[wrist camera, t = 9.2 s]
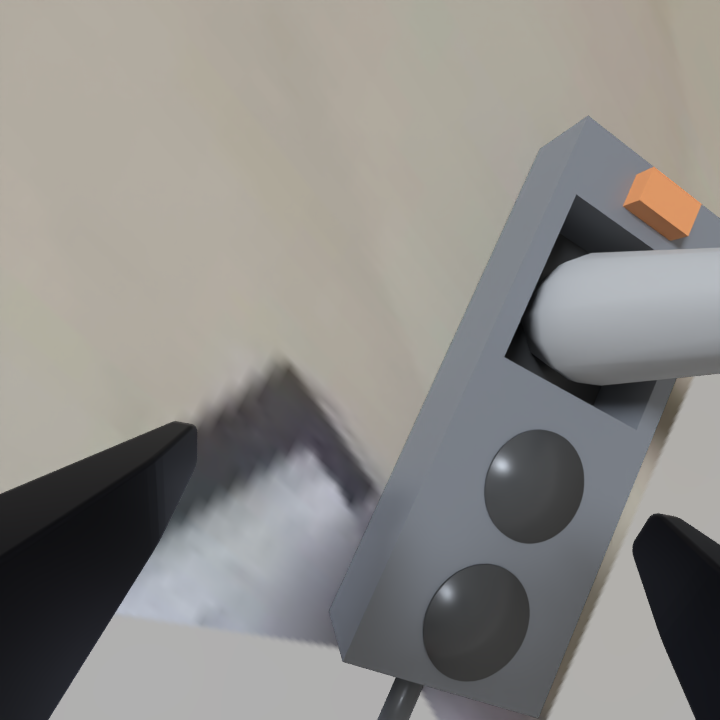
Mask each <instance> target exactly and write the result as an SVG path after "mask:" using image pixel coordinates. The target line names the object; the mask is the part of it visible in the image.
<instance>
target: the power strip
mask: <svg viewBox="0 0 720 720" xmlns="http://www.w3.org/2000/svg"><path fill="white" fill-rule="evenodd" d="M698 248H720V218H719V217H717V216H716V215H715V214H713V213H712V212H711V211H710V210H708V209H707V208H706V207H705V206H703V205H702V204H701V203H700V202H698V201H697V200H696V199H694V198H693V197H692V196H691V195H689V194H688V193H687V192H685V191H684V190H683V189H682V188H680V187H679V186H678V185H677V184H675V183H674V182H673V181H671V180H670V179H669V178H668V177H666V176H665V175H664V174H662V173H661V172H660V171H659V170H657V169H656V168H655V167H653V166H652V165H651V164H649V163H648V162H647V161H646V160H644V159H643V158H642V157H641V156H639V155H638V154H637V153H635V152H634V151H633V150H632V149H630V148H629V147H628V146H626V145H625V144H624V143H623V142H621V141H620V140H619V139H617V138H616V137H615V136H614V135H612V134H611V133H610V132H609V131H607V130H606V129H605V128H603V127H602V126H601V125H600V124H598V123H597V122H596V121H594V120H593V119H592V118H591V117H589V116H587V117H585V118H584V119H582V120H581V121H580V122H578V123H577V124H575V125H574V126H572V127H571V128H569V129H568V130H567V131H565V132H564V133H562V134H561V135H559V136H558V137H556V138H555V139H554V140H552V141H551V142H549V143H548V144H546V145H545V146H543V147H542V148H540V150H539V152H538V154H537V156H536V159H535V161H534V163H533V165H532V167H531V170H530V172H529V174H528V176H527V178H526V181H525V183H524V185H523V187H522V189H521V191H520V194H519V196H518V198H517V200H516V202H515V205H514V207H513V209H512V211H511V213H510V216H509V218H508V220H507V222H506V224H505V227H504V229H503V231H502V233H501V235H500V237H499V240H498V242H497V244H496V246H495V248H494V251H493V253H492V255H491V257H490V259H489V262H488V264H487V266H486V268H485V270H484V273H483V275H482V277H481V279H480V281H479V283H478V286H477V288H476V290H475V292H474V294H473V297H472V299H471V301H470V303H469V305H468V308H467V310H466V312H465V314H464V316H463V319H462V321H461V323H460V325H459V327H458V329H457V332H456V334H455V336H454V338H453V340H452V343H451V345H450V347H449V349H448V351H447V354H446V356H445V358H444V360H443V362H442V365H441V367H440V369H439V371H438V373H437V375H436V378H435V380H434V382H433V384H432V386H431V389H430V391H429V393H428V395H427V397H426V400H425V402H424V404H423V406H422V408H421V411H420V413H419V415H418V417H417V419H416V421H415V424H414V426H413V428H412V430H411V432H410V435H409V437H408V439H407V441H406V443H405V446H404V448H403V450H402V452H401V454H400V457H399V459H398V461H397V463H396V465H395V467H394V470H393V472H392V474H391V476H390V478H389V481H388V483H387V485H386V487H385V489H384V492H383V494H382V496H381V498H380V500H379V503H378V505H377V507H376V509H375V511H374V513H373V516H372V518H371V520H370V522H369V524H368V527H367V529H366V531H365V533H364V535H363V538H362V540H361V542H360V544H359V546H358V549H357V551H356V553H355V555H354V557H353V559H352V562H351V564H350V566H349V568H348V570H347V573H346V575H345V577H344V579H343V581H342V584H341V586H340V588H339V590H338V592H337V595H336V597H335V599H334V601H333V603H332V605H331V608H330V610H329V613H330V617H331V621H332V624H333V628H334V632H335V635H336V639H337V643H338V646H339V650H340V654H341V657H342V661H343V662H345V663H349V664H352V665H356V666H359V667H363V668H366V669H369V670H373V671H376V672H380V673H383V674H387V675H390V676H393V677H396V678H395V681H394V683H393V685H392V688H391V690H390V692H389V694H388V697H387V699H386V702H385V704H384V706H383V708H382V710H381V713H380V715H379V717H378V720H409V718H410V715H411V713H412V711H413V708H414V706H415V704H416V702H417V699H418V697H419V695H420V692H421V690H422V688H423V685H424V686H428V687H431V688H435V689H438V690H442V691H445V692H449V693H452V694H455V695H459V696H462V697H466V698H469V699H473V700H476V701H480V702H483V703H486V704H490V705H493V706H497V707H500V708H504V709H507V710H511V711H514V712H517V713H521V714H524V715H528V716H531V717H535V718H539V715H540V713H541V711H542V708H543V706H544V703H545V701H546V698H547V696H548V693H549V691H550V688H551V686H552V683H553V681H554V679H555V676H556V674H557V671H558V669H559V666H560V664H561V661H562V659H563V656H564V654H565V651H566V649H567V647H568V644H569V642H570V639H571V637H572V634H573V632H574V629H575V627H576V624H577V622H578V620H579V617H580V615H581V612H582V610H583V607H584V605H585V602H586V600H587V597H588V595H589V592H590V590H591V588H592V585H593V583H594V580H595V578H596V575H597V573H598V570H599V568H600V565H601V563H602V560H603V558H604V556H605V553H606V551H607V548H608V546H609V543H610V541H611V538H612V536H613V533H614V531H615V529H616V526H617V524H618V521H619V519H620V516H621V514H622V511H623V509H624V506H625V504H626V501H627V499H628V497H629V494H630V492H631V489H632V487H633V484H634V482H635V479H636V477H637V474H638V472H639V470H640V467H641V465H642V462H643V460H644V457H645V455H646V452H647V450H648V447H649V445H650V442H651V440H652V438H653V435H654V433H655V430H656V428H657V425H658V423H659V420H660V418H661V415H662V413H663V410H664V408H665V406H666V403H667V401H668V398H669V396H670V393H671V391H672V388H673V386H674V383H675V381H676V379H677V378H671V379H661V380H651V381H641V382H632V383H622V384H612V385H602V386H601V385H593V384H585V383H577V382H574V381H571V380H568V379H567V378H565V377H564V376H562V375H561V374H559V373H558V372H557V371H555V370H554V369H552V368H551V367H549V366H548V365H547V364H545V363H544V362H543V361H541V360H540V359H539V358H538V357H536V356H535V355H534V354H532V353H531V352H530V349H529V346H528V343H527V339H526V336H525V332H524V329H523V325H522V322H521V318H522V316H523V313H524V311H525V309H526V307H527V304H528V302H529V300H530V298H531V296H532V295H533V293H534V291H535V289H536V288H537V286H538V285H539V284H540V283H541V282H542V281H543V280H544V279H545V278H546V277H547V276H548V275H549V274H550V273H551V272H553V271H554V270H555V269H556V268H557V267H558V266H559V265H561V264H563V263H565V262H567V261H570V260H573V259H576V258H578V257H581V256H584V255H587V254H590V253H603V252H627V251H651V250H675V249H698Z"/></svg>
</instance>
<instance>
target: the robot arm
mask: <svg viewBox="0 0 720 720" xmlns="http://www.w3.org/2000/svg"><path fill="white" fill-rule="evenodd" d="M196 463H197V429H196V427H195V426H194V425H193V424H189V423H183V422H178V421H174V422H171V423H168V424H166V425H164V426H161V427H159V428H156V429H154V430H152V431H149V432H147V433H145V434H142V435H140V436H137V437H135V438H133V439H130V440H128V441H125V442H123V443H121V444H118V445H116V446H114V447H111V448H109V449H106V450H104V451H102V452H99V453H97V454H94V455H92V456H90V457H87V458H85V459H83V460H80V461H78V462H75V463H73V464H71V465H68V466H66V467H64V468H61V469H59V470H56V471H54V472H52V473H49V474H47V475H44V476H42V477H40V478H37V479H35V480H32V481H30V482H28V483H25V484H23V485H21V486H18V487H16V488H13V489H11V490H9V491H6V492H4V493H1V494H0V720H48V719H49V718H50V716H51V715H52V713H53V711H54V710H55V708H56V707H57V705H58V703H59V702H60V700H61V698H62V697H63V695H64V694H65V692H66V691H67V689H68V687H69V686H70V684H71V683H72V681H73V679H74V678H75V676H76V675H77V673H78V671H79V670H80V668H81V666H82V665H83V663H84V662H85V660H86V659H87V657H88V655H89V654H90V652H91V650H92V649H93V647H94V646H95V644H96V643H97V641H98V639H99V638H100V636H101V635H102V633H103V631H104V630H105V628H106V626H107V625H108V623H109V622H110V620H111V619H112V617H113V615H114V614H115V612H116V611H117V609H118V607H119V606H120V604H121V603H122V601H123V599H124V598H125V596H126V595H127V593H128V591H129V590H130V588H131V587H132V585H133V583H134V582H135V580H136V579H137V577H138V575H139V574H140V572H141V571H142V569H143V567H144V566H145V564H146V563H147V561H148V559H149V558H150V556H151V555H152V553H153V551H154V550H155V548H156V546H157V545H158V543H159V541H160V539H161V537H162V535H163V533H164V531H165V529H166V527H167V525H168V523H169V521H170V519H171V517H172V515H173V513H174V511H175V509H176V507H177V505H178V503H179V501H180V499H181V497H182V495H183V492H184V490H185V488H186V486H187V484H188V482H189V480H190V478H191V476H192V474H193V472H194V470H195V467H196ZM633 556H634V560H635V563H636V565H637V569H638V571H639V575H640V578H641V580H642V584H643V587H644V589H645V592H646V596H647V599H648V602H649V604H650V608H651V611H652V614H653V617H654V619H655V622H656V626H657V628H658V631H659V634H660V637H661V639H662V642H663V644H664V647H665V649H666V652H667V654H668V656H669V659H670V661H671V663H672V666H673V668H674V670H675V673H676V675H677V677H678V679H679V682H680V684H681V686H682V689H683V691H684V693H685V696H686V698H687V700H688V702H689V705H690V707H691V710H692V712H693V714H694V716H695V719H696V720H720V545H719V544H717V543H716V542H715V541H713V540H712V539H710V538H709V537H707V536H706V535H704V534H703V533H701V532H700V531H698V530H697V529H695V528H694V527H692V526H691V525H689V524H688V523H686V522H685V521H683V520H682V519H680V518H678V517H674V516H670V515H664V514H653V515H652V516H650V517H649V519H648V520H647V522H646V523H645V525H644V526H643V528H642V530H641V531H640V533H639V534H638V536H637V537H636V539H635V541H634V543H633Z"/></svg>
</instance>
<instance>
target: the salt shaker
mask: <svg viewBox="0 0 720 720" xmlns="http://www.w3.org/2000/svg"><path fill="white" fill-rule="evenodd" d="M521 322H522V325H523V329H524V332H525V336H526V339H527V343H528V346H529V349H530V352H531V353H532V354H534V355H535V356H536V357H538V358H539V359H540V360H541V361H543V362H544V363H545V364H547V365H548V366H549V367H551V368H552V369H554V370H555V371H557V372H558V373H559V374H561V375H562V376H564V377H565V378H567V379H568V380H571V381H574V382H577V383H585V384H593V385H601V386H602V385H612V384H622V383H632V382H641V381H651V380H661V379H671V378H681V377H691V376H701V375H711V374H720V248H698V249H675V250H651V251H627V252H603V253H590V254H587V255H584V256H581V257H578V258H576V259H573V260H570V261H567V262H565V263H563V264H561V265H559V266H558V267H557V268H556V269H555V270H554V271H553V272H551V273H550V274H549V275H548V276H547V277H546V278H545V279H544V280H543V281H542V282H541V283H540V284H539V285H538V286H537V288H536V289H535V291H534V293H533V295H532V296H531V298H530V300H529V302H528V304H527V307H526V309H525V311H524V313H523V316H522V318H521Z"/></svg>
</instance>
